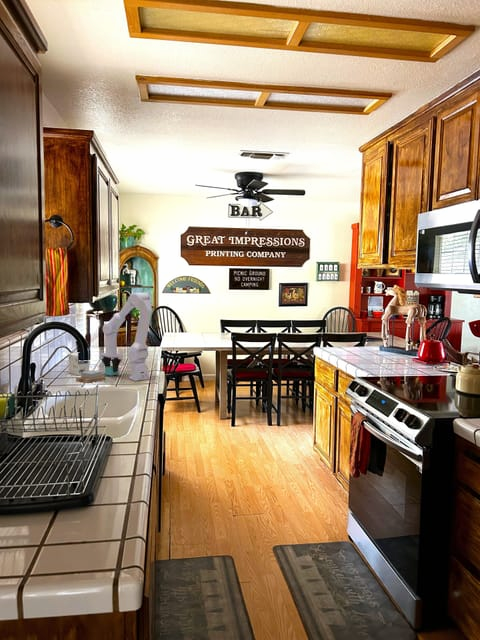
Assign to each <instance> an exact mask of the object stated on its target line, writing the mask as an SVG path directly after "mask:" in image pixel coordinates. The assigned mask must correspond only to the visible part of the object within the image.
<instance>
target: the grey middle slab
mask: <svg viewBox="0 0 480 640" xmlns="http://www.w3.org/2000/svg"><path fill="white" fill-rule="evenodd" d="M102 376H103V372H102V371H98V370H94V369H93V370H89V371H86V372H81V375H80V377H82V378H88V379H93V378H98V377H102Z"/></svg>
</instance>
